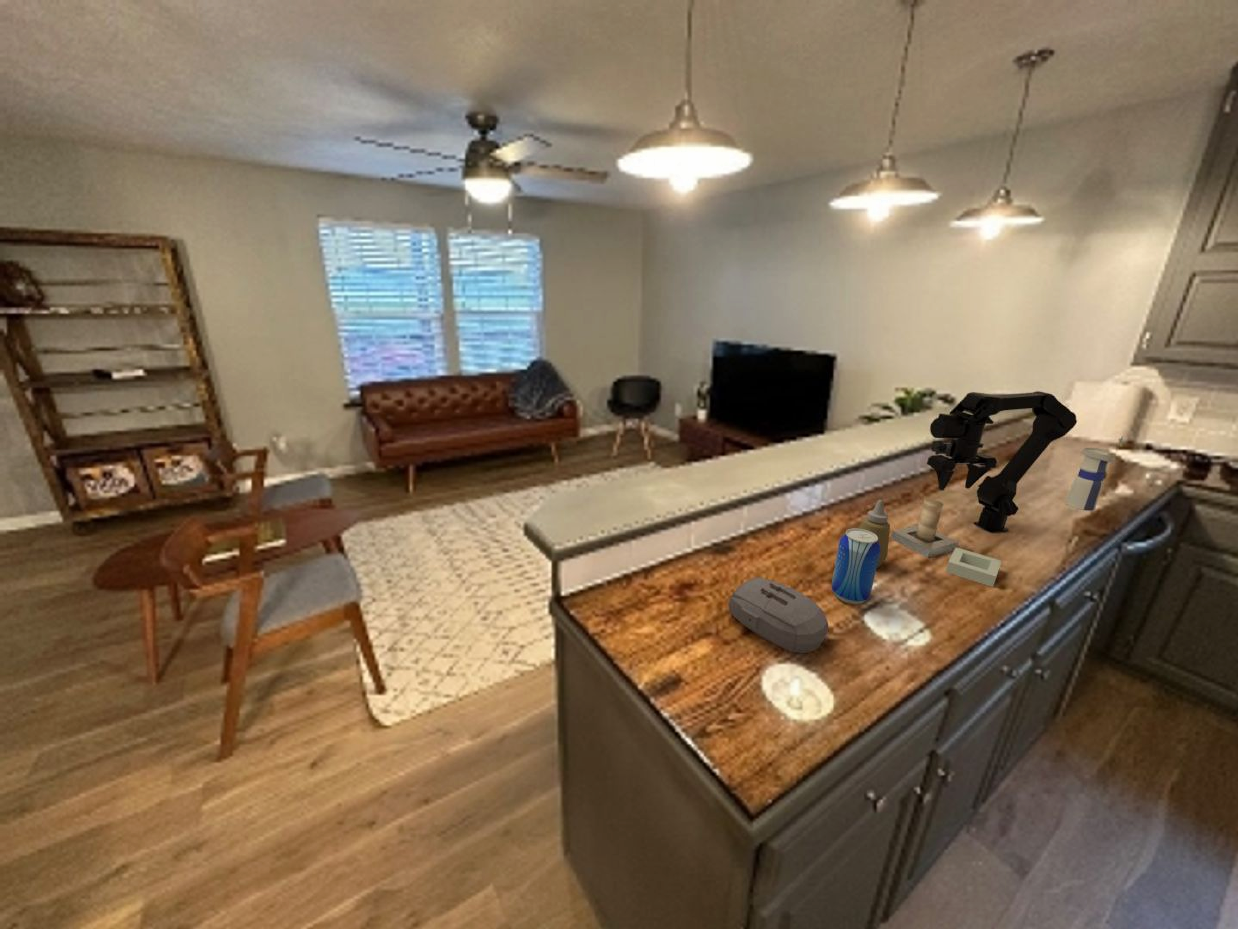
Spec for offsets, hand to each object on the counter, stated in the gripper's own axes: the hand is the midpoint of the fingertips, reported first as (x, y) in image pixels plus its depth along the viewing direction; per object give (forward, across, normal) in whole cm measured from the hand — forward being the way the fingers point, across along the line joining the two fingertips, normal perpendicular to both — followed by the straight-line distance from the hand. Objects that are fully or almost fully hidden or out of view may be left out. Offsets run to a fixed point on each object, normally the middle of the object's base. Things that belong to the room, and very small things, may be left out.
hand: (954, 489), depth 145 cm
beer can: (+14, +50, +24) cm, 57 cm away
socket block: (+13, +13, +7) cm, 20 cm away
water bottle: (+12, -60, -5) cm, 62 cm away
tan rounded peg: (+13, +13, +7) cm, 20 cm away
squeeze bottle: (+14, +36, +12) cm, 40 cm away
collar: (+13, +12, +21) cm, 28 cm away
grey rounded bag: (+15, +72, +31) cm, 80 cm away
